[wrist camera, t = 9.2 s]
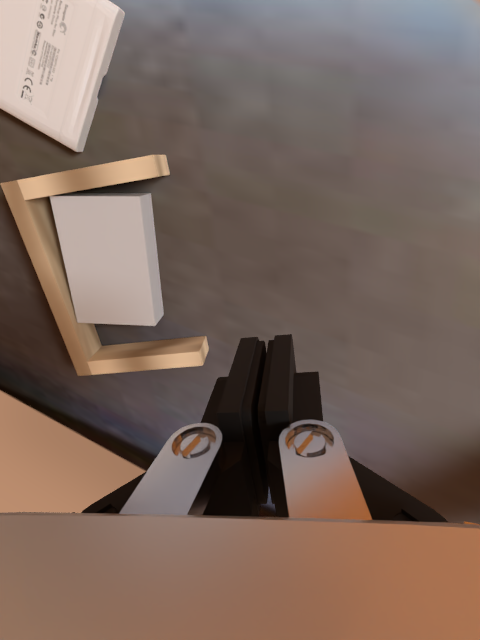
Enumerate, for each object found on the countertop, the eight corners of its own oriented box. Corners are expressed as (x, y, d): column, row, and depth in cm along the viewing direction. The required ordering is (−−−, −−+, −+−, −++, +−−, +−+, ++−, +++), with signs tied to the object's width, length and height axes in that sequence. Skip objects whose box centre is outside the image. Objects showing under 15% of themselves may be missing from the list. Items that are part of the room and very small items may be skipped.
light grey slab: (152, 192, 25) (139, 196, 22) (165, 312, 28) (155, 325, 26) (70, 192, 25) (49, 196, 23) (93, 309, 29) (77, 322, 27)
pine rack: (165, 154, 23) (153, 154, 21) (208, 348, 29) (202, 365, 26) (26, 180, 25) (0, 183, 22) (93, 359, 30) (78, 375, 28)
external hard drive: (-80, -118, 19) (129, 16, 21) (-95, 48, 23) (86, 153, 24) (-110, -141, 18) (117, 4, 19) (-122, 40, 21) (73, 152, 23)
